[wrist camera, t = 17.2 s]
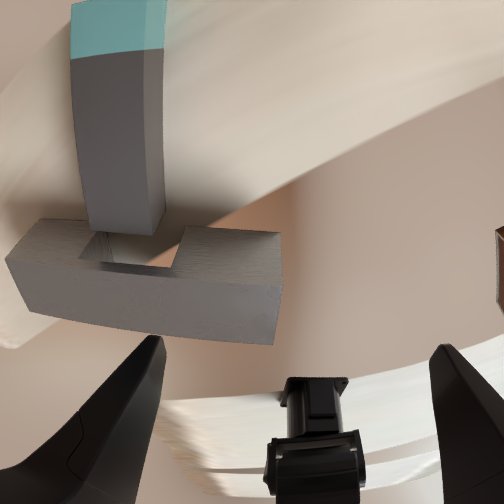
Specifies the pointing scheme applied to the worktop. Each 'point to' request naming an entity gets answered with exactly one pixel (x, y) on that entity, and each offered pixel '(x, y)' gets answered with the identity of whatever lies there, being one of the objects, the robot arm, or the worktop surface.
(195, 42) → the worktop surface
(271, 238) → the long gray rectangular block
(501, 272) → the food container
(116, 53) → the bar
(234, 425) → the worktop surface
